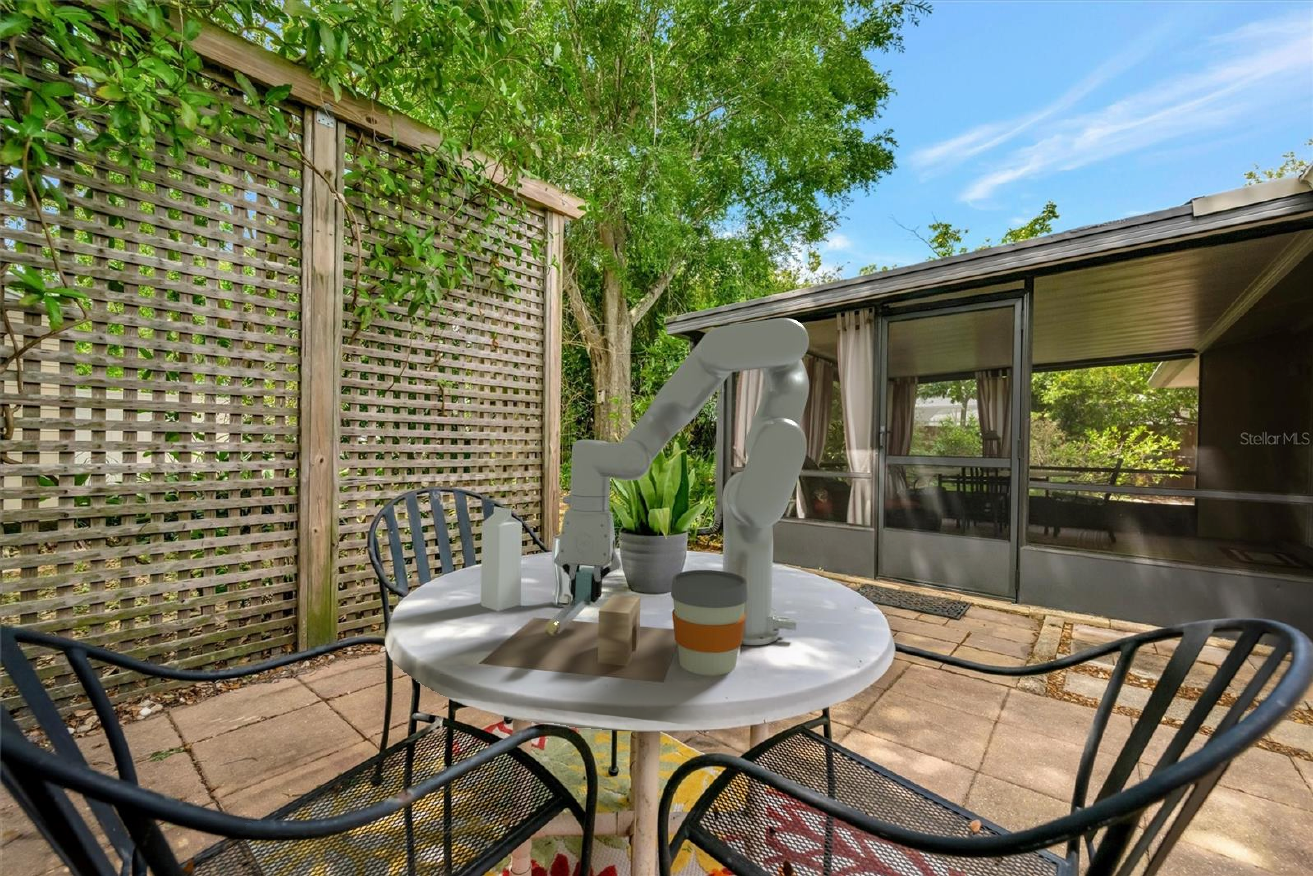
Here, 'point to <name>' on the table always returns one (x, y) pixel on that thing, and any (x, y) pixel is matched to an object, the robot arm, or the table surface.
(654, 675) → the board
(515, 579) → the milk
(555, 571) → the beer glass
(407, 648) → the table surface
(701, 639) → the reusable coffee cup
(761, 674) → the table surface
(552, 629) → the hook rod
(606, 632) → the wooden toy block
